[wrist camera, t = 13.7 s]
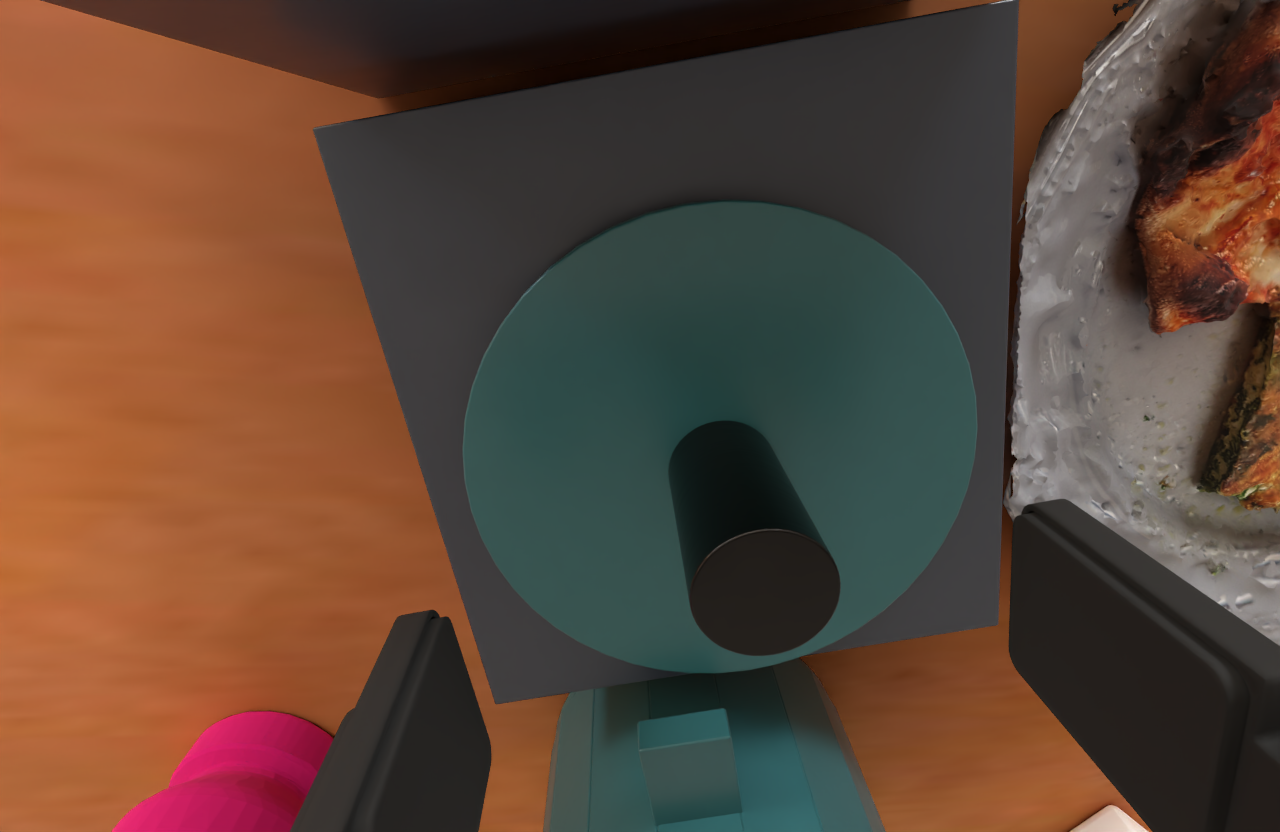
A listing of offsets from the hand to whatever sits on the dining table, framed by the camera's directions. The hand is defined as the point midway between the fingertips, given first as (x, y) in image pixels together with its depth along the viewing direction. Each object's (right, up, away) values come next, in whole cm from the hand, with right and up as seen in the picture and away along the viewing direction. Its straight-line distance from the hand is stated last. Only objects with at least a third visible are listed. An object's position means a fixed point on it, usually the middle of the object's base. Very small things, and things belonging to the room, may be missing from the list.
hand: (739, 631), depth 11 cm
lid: (0, +2, +6) cm, 6 cm away
